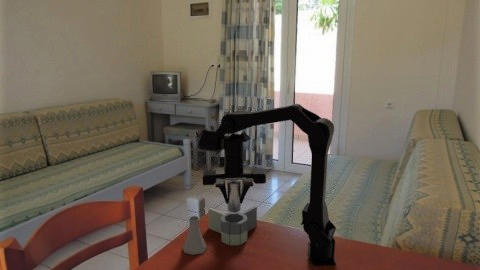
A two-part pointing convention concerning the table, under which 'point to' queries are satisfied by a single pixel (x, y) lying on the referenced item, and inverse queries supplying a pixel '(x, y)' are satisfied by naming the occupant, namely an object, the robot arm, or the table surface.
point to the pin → (234, 195)
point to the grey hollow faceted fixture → (239, 221)
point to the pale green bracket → (227, 239)
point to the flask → (194, 238)
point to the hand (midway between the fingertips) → (234, 203)
